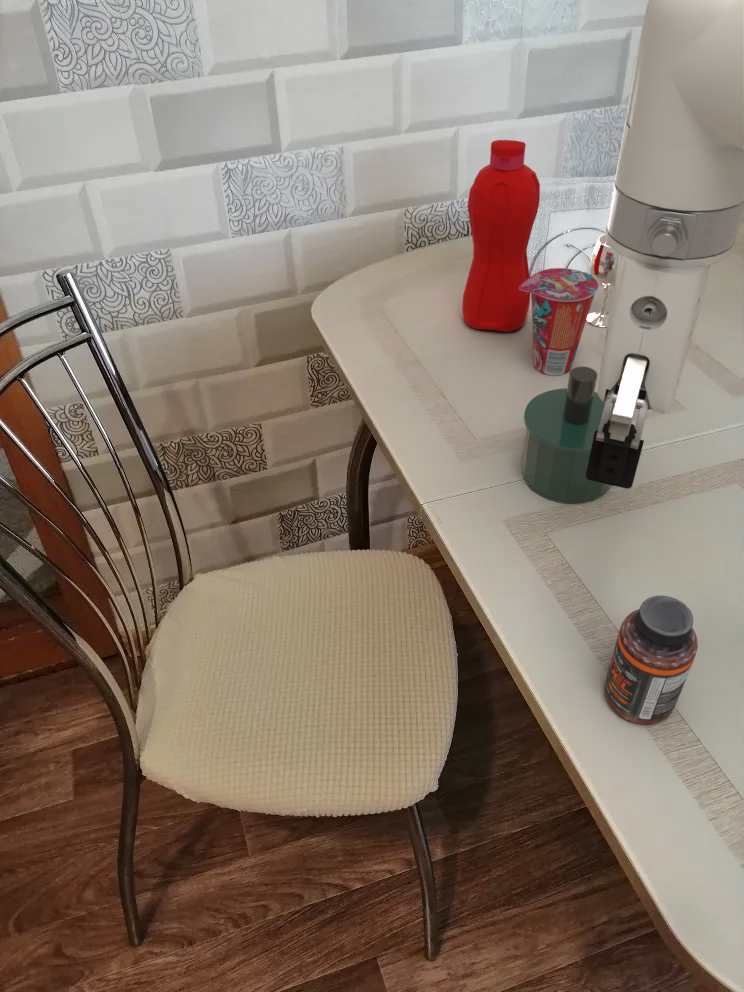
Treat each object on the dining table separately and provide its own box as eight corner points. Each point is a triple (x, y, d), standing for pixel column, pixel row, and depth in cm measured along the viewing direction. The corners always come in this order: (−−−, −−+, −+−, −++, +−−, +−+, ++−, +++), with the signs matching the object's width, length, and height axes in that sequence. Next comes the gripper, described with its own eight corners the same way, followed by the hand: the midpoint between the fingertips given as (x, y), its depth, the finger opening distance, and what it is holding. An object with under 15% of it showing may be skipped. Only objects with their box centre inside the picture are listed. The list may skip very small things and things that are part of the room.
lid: (614, 394, 90) (625, 343, 85) (638, 456, 82) (651, 403, 77) (516, 397, 90) (522, 346, 86) (531, 459, 82) (537, 406, 77)
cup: (553, 341, 111) (564, 261, 103) (597, 368, 106) (613, 286, 98) (502, 363, 108) (509, 281, 100) (545, 392, 102) (556, 308, 94)
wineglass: (629, 325, 114) (646, 245, 106) (593, 332, 113) (607, 252, 105) (609, 307, 118) (624, 228, 110) (574, 313, 117) (586, 235, 109)
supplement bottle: (589, 679, 70) (611, 595, 62) (649, 661, 71) (677, 575, 64) (626, 737, 66) (654, 653, 58) (688, 716, 67) (724, 631, 59)
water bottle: (532, 300, 120) (551, 126, 104) (522, 337, 112) (541, 156, 96) (471, 294, 122) (480, 123, 106) (458, 330, 115) (465, 151, 98)
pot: (601, 445, 94) (612, 393, 89) (620, 502, 87) (633, 448, 82) (516, 447, 94) (522, 395, 89) (528, 504, 87) (535, 451, 82)
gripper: (729, 294, 41) (656, 531, 52) (748, 172, 52) (685, 388, 64) (581, 271, 43) (543, 503, 54) (632, 159, 54) (591, 370, 66)
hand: (620, 441), depth 59 cm, fingers open, 9 cm apart
